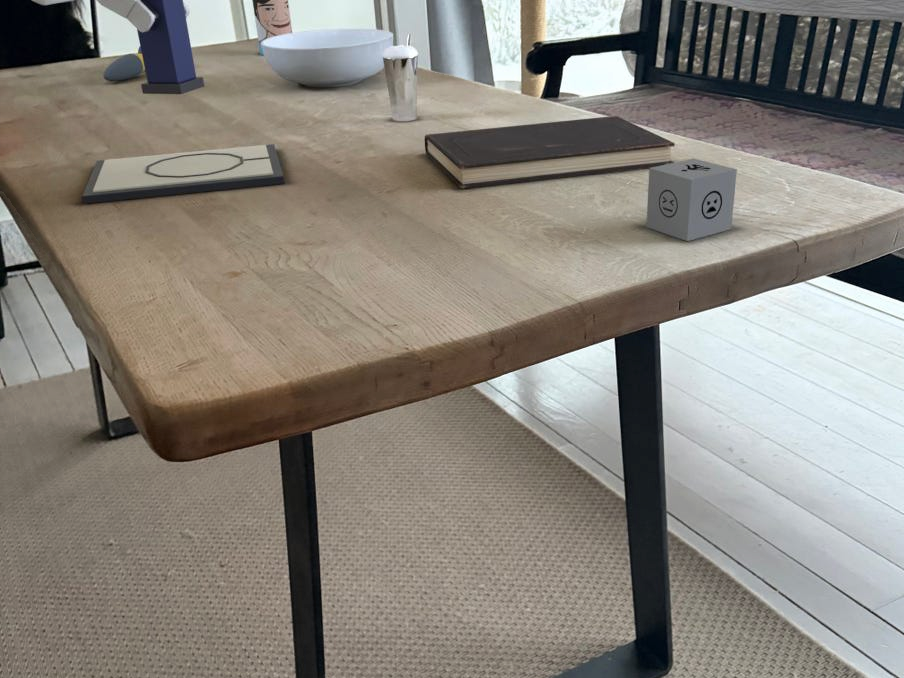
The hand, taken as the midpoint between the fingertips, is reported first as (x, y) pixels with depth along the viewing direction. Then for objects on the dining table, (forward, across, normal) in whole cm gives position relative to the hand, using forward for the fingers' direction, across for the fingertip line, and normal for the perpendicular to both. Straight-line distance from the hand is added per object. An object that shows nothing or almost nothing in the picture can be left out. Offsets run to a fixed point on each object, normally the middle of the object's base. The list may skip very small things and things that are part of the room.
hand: (167, 22), depth 80 cm
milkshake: (+14, -47, -10) cm, 50 cm away
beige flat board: (+4, -16, -20) cm, 26 cm away
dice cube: (+43, -5, +19) cm, 47 cm away
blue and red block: (+3, 0, -4) cm, 5 cm away
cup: (-21, -106, -45) cm, 117 cm away
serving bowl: (-2, -73, -26) cm, 78 cm away
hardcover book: (+30, -27, +6) cm, 41 cm away
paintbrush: (-30, -79, -54) cm, 100 cm away
